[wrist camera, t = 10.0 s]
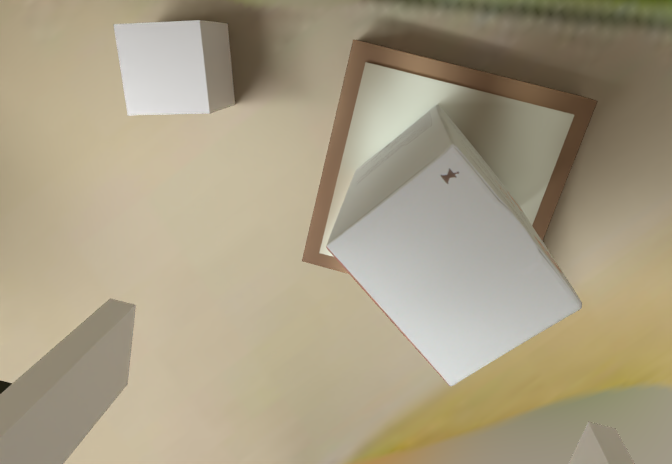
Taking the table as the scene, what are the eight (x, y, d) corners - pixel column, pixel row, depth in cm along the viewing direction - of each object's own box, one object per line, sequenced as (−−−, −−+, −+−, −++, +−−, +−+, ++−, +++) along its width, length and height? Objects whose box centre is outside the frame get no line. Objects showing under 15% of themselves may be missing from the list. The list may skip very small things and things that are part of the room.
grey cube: (163, 106, 37) (127, 115, 32) (152, 27, 35) (113, 24, 31) (235, 104, 36) (209, 113, 31) (228, 23, 35) (199, 20, 30)
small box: (353, 171, 33) (319, 244, 21) (437, 101, 31) (455, 137, 19) (436, 269, 34) (450, 392, 22) (522, 208, 32) (590, 306, 20)
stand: (309, 245, 39) (301, 262, 35) (357, 40, 34) (352, 39, 31) (504, 297, 38) (512, 320, 35) (581, 96, 33) (599, 101, 30)
